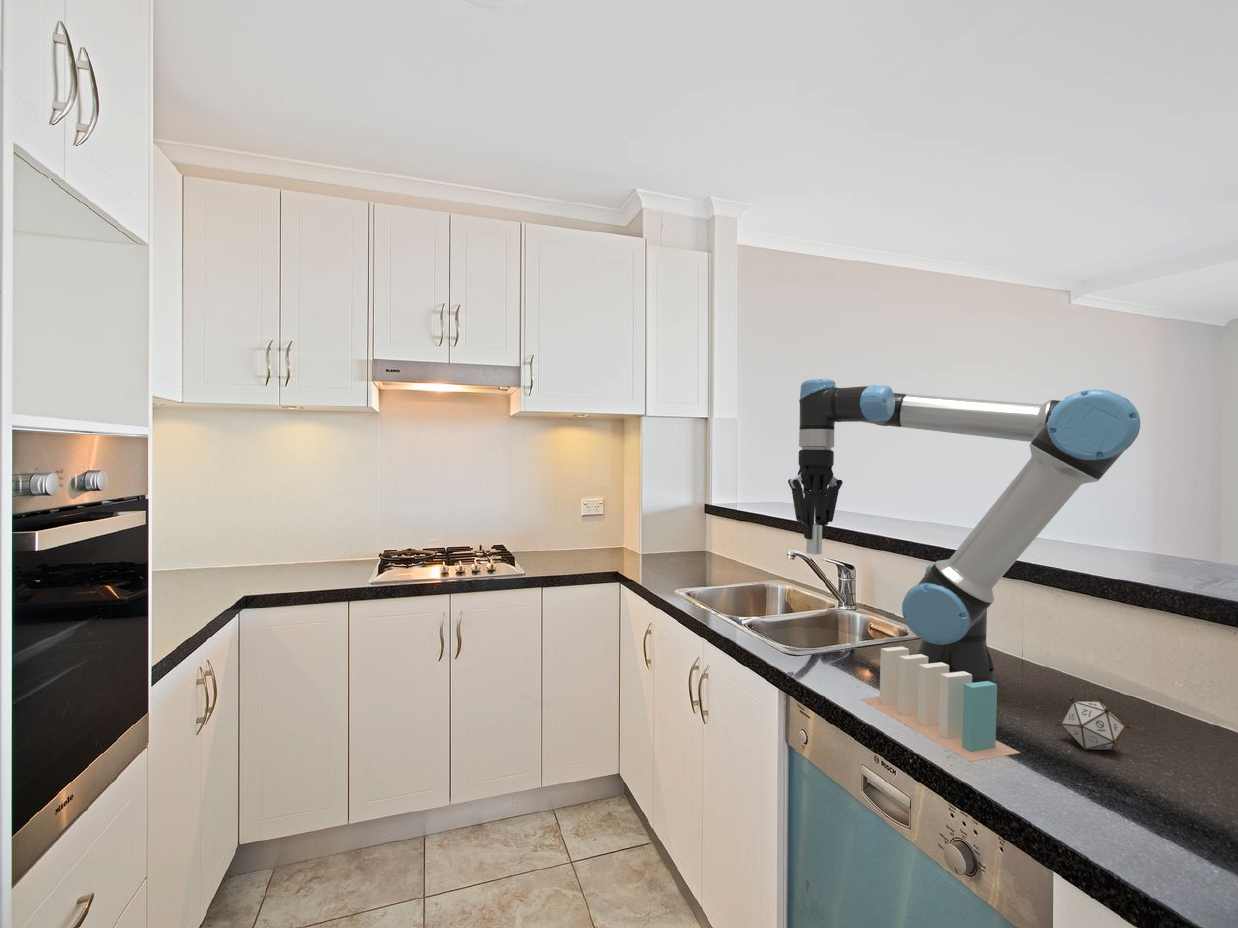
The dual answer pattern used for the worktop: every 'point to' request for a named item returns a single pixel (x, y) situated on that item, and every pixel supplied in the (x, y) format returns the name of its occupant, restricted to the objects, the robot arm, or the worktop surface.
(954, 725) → the domino
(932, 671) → the domino
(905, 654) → the domino
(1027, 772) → the worktop surface
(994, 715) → the domino
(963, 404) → the robot arm
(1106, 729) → the game die
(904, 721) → the mat
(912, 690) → the domino
